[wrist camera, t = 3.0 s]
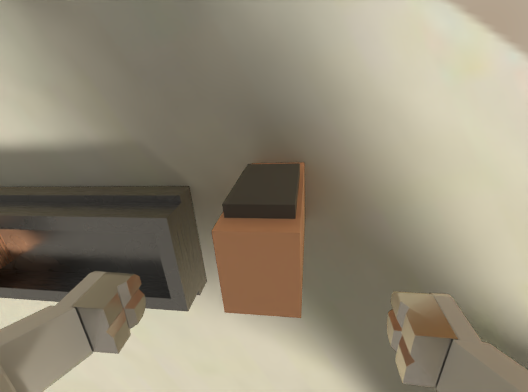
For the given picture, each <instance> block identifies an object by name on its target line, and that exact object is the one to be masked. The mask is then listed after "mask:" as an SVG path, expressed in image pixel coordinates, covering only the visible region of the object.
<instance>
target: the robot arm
mask: <svg viewBox="0 0 528 392" xmlns="http://www.w3.org/2000/svg"><path fill="white" fill-rule="evenodd" d="M141 284H142V283H141V280H140V277H139V276H138V275H136V274H127V273H116V272H102V271H94V272H91V273H89V274H88V275H87V276H86V277H85V278H84V279H83V280H82V281H81V282H80V283H79V284H78V285H77V286H76V287H75V288H73V289H72V290H71V291H70V292H69V293H68V294H67V295H66V296H65V297H64V298H63V299H62V300H61V301H60V302H59V303H57V304H56V305H55V306H48V307H46V308H44V309H42V310H40V311H38V312H36V313H34V314H32V315H30V316H27V317H25V318H23V319H21V320H19V321H17V322H15V323H13V324H11V325H8V326H6V327H4V328H2V329H0V392H43V391H44V390H45V389H47V388H48V387H49V386H51V385H52V384H53V383H55V382H56V381H57V380H59V379H60V378H61V377H62V376H64V375H65V374H66V373H68V372H69V371H70V370H72V369H73V368H74V367H76V366H77V365H78V364H79V363H81V362H82V361H83V360H85V359H86V358H87V357H89V356H90V355H91V354H92V353H93V352H104V353H118V354H119V352H120V351H121V349H122V347H123V346H124V344H125V343H126V341H127V340H128V338H129V337H130V335H131V333H130V329H131V328H132V327H134V326H135V325H137V324H138V323H139V321H140V320H141V318H142V317H143V314H144V311H145V307H146V299H145V295H144V294H143V293H142V292H141V291H140V290H139V287H140V286H141ZM390 302H391V305H392V308H393V309H392V310H391V311H389V312H388V316H387V334H388V339H389V342H390V346H391V347H392V348H393V349H394V350H395V351H396V352H397V354H396V358H395V362H396V365H397V368H398V371H399V374H400V377H401V380H402V383H403V384H410V385H417V386H425V387H432V388H436V390H437V391H438V392H528V370H527V369H526V368H524V367H523V366H521V365H520V364H518V363H517V362H516V361H514V360H513V359H511V358H510V357H508V356H507V355H506V354H504V353H503V352H501V351H500V350H498V349H497V348H495V347H494V346H493V345H491V344H490V343H487V342H482V341H481V339H480V338H479V336H478V335H477V333H476V332H475V330H474V329H473V327H472V326H471V324H470V323H469V321H468V320H467V318H466V317H465V315H464V314H463V312H462V311H461V309H460V308H459V306H458V305H457V303H456V302H455V300H454V299H453V297H452V296H450V295H449V294H437V293H429V294H428V293H413V292H396V291H394V292H393V293H392V295H391V300H390Z"/></svg>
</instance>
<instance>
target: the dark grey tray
mask: <svg viewBox="0 0 528 392" xmlns="http://www.w3.org/2000/svg"><path fill="white" fill-rule="evenodd" d="M94 271H102V272H116V273H127V274H136V275H138V276H139V277H140V280H141V283H142V284H141V286H140V287H139V290H140V291H141V292H142V293H143V294H144V295H145V299H146V307H145V308H150V309H164V310H177V311H189V309H190V307H191V305H192V303H193V301H194V299H195V297H196V295H200V294H201V292H202V290H203V288H204V286H205V284H206V282H207V279H206V274H205V269H204V263H203V258H202V252H201V247H200V242H199V236H198V231H197V226H196V220H195V215H194V210H193V204H192V199H191V193H190V188H189V186H114V187H0V298H14V299H28V300H41V301H55V302H60V301H61V300H62V299H63V298H64V297H65V296H66V295H67V294H68V293H69V292H70V291H71V290H72V289H73V288H75V287H76V286H77V285H78V284H79V283H80V282H81V281H82V280H83V279H84V278H85V277H86V276H87V275H88V274H89V273H91V272H94Z"/></svg>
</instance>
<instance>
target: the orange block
mask: <svg viewBox="0 0 528 392" xmlns="http://www.w3.org/2000/svg"><path fill="white" fill-rule="evenodd" d="M222 205H223V213H222V214H221V216H220V218H219V219H218V221H217V223H216V224H215V226H214V228H213V229H212V237H213V243H214V249H215V255H216V262H217V268H218V274H219V280H220V286H221V292H222V298H223V304H224V311H225V312H226V313H240V314H254V315H268V316H282V317H296V318H301V307H302V281H303V255H304V230H305V175H304V163H252V164H248V165H247V167H246V168H245V170H244V171H243V173H242V174H241V176H240V178H239V179H238V181H237V182H236V184H235V185H234V187H233V188H232V190H231V192H230V193H229V195H228V196H227V198H226V199H225V201H224V203H223V204H222Z"/></svg>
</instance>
